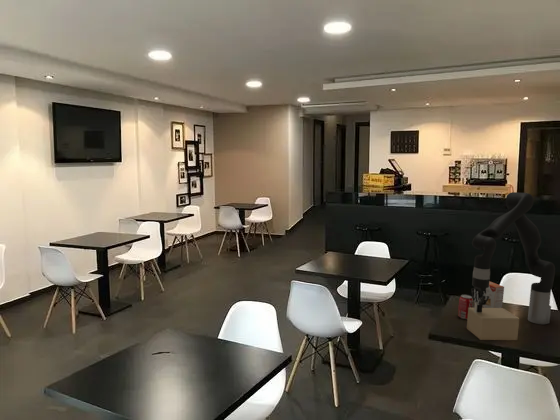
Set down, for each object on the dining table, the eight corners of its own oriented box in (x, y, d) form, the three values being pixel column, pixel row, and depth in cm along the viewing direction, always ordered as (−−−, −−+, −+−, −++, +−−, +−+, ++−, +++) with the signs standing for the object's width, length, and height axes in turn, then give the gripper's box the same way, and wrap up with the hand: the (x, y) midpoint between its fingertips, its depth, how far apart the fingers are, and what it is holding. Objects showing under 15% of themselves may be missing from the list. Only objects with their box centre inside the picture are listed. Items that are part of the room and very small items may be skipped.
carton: (501, 328, 224) (503, 309, 223) (517, 340, 210) (519, 320, 209) (466, 328, 223) (468, 309, 222) (480, 339, 209) (482, 319, 208)
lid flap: (503, 309, 223) (504, 298, 222) (519, 319, 209) (520, 308, 208) (468, 309, 222) (469, 298, 221) (482, 319, 208) (483, 307, 207)
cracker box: (472, 316, 240) (475, 279, 238) (481, 315, 242) (484, 278, 240) (491, 326, 227) (495, 286, 225) (501, 325, 229) (504, 286, 226)
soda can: (470, 316, 241) (472, 295, 239) (472, 320, 234) (474, 299, 232) (456, 314, 243) (458, 293, 241) (458, 319, 236) (460, 297, 234)
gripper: (496, 280, 206) (493, 316, 208) (481, 273, 220) (478, 306, 222) (480, 280, 206) (477, 316, 208) (467, 272, 219) (464, 306, 221)
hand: (478, 311), depth 215 cm, fingers closed
